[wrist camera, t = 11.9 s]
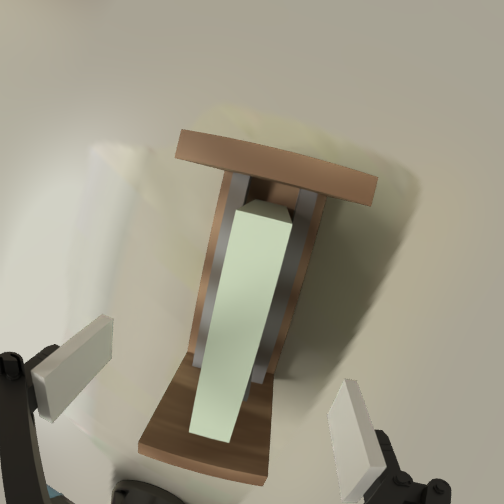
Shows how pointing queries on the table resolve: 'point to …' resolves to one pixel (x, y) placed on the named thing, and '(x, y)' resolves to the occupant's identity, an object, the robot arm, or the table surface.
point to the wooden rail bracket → (281, 309)
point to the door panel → (239, 315)
